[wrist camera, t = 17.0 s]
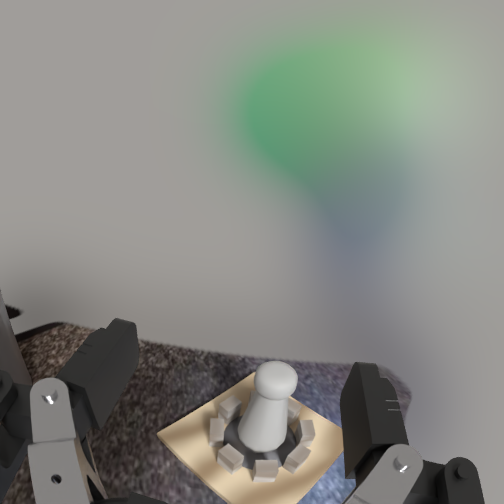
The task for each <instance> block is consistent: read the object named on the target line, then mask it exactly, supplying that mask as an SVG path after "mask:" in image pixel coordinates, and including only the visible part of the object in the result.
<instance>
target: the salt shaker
mask: <svg viewBox="0 0 504 504" xmlns="http://www.w3.org/2000/svg"><path fill="white" fill-rule="evenodd" d="M297 379H298V376H297V374H296V372H295V370H294V369H293V368H292V367H291V366H290V365H288V364H286V363H284V362H281V361H270V362H266V363H263V364H262V365H260V366H259V367H258V368H257V370H256V373H255V376H254V381H253V382H254V386H255V390H256V391H255V393H254V395H253V397H252V399H251V401H250V403H249V405H248V407H247V409H246V411H245V413H244V415H243V417H242V419H241V420H240V423H239V426H238V434H239V439H240V441H241V442H242V443H243V445H244V446H246V447H247V448H248V449H250V450H251V451H252V452H254V453H255V454H256V453H265V452H271V451H273V450H275V449H277V448H278V447H279V446H280V445H281V444H282V443H283V442H284V440H285V437H286V433H287V417H288V397H289V396H290V395H291V394H292V393H293V392H294V391H295V388H296V385H297Z"/></svg>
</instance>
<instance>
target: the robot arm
mask: <svg viewBox="0 0 504 504" xmlns="http://www.w3.org/2000/svg"><path fill="white" fill-rule="evenodd" d="M138 362H139V347H138V338H137V329H136V325H135V323H133V322H129V321H125V320H122V319H118V318H115V319H114V320H113V321H112V322H111V323H110V324H109V326H108V327H107V328H106V329H104V328H100V329H98V330H96V331H95V332H93V333H91V334H90V335H89V336H88V337H87V338H86V340H85V341H84V342H83V345H81V346H80V347H79V348H78V349H77V352H75V353H74V354H73V356H72V357H71V358H70V359H69V361H68V362H67V363H66V364H65V366H64V367H63V368H62V369H61V371H60V372H59V373H58V374H57V376H56V377H55V378H45V379H42V380H40V381H38V382H37V383H35V384H34V385H33V386H32V380H31V377H30V374H29V372H28V370H27V367H26V365H25V362H24V360H23V357H22V354H21V352H20V349H19V346H18V344H17V341H16V338H15V335H14V332H13V330H12V327H11V324H10V321H9V317H8V314H7V311H6V308H5V304H4V301H3V298H2V294H1V290H0V422H1V425H0V504H1V503H2V501H3V499H4V497H5V495H6V493H7V491H8V489H9V487H10V485H11V483H12V481H13V479H14V477H15V475H16V473H17V471H18V469H19V467H20V466H21V464H22V462H23V460H24V458H25V456H26V455H27V453H28V457H29V465H30V472H31V479H32V485H33V490H34V495H35V500H36V504H168V503H166V502H163V501H159V500H156V499H153V498H150V497H146V496H143V495H140V494H137V493H134V492H131V494H130V497H129V498H108V497H107V494H106V492H105V489H104V487H103V485H102V483H101V480H100V478H99V475H98V472H97V468H96V465H95V461H94V458H93V454H92V451H91V447H90V443H89V439H88V435H87V432H88V431H89V429H90V427H93V428H95V429H98V430H100V431H101V430H102V428H103V426H104V424H105V422H106V421H107V419H108V417H109V415H110V413H111V412H112V410H113V408H114V406H115V405H116V403H117V401H118V399H119V397H120V396H121V394H122V392H123V390H124V389H125V387H126V385H127V383H128V382H129V380H130V378H131V377H132V375H133V373H134V371H135V370H136V368H137V365H138ZM397 400H398V399H397V395H396V392H395V388H394V387H393V386H392V384H391V383H390V382H389V380H388V379H387V378H380V375H379V371H378V367H377V365H376V364H374V363H363V362H355V363H354V365H353V367H352V369H351V372H350V374H349V376H348V379H347V381H346V383H345V386H344V388H343V390H342V393H341V398H340V411H341V423H342V435H343V448H344V464H345V479H356V487H355V488H354V489H353V490H352V491H351V493H350V494H349V495H348V496H347V497H346V499H345V500H344V501H343V502H342V503H341V504H485V503H484V498H483V493H482V489H481V484H480V480H479V476H478V472H477V469H476V467H475V465H474V464H473V463H472V462H471V461H470V460H468V459H466V458H462V457H457V458H453V459H451V460H450V461H449V462H448V463H447V464H446V465H443V464H437V463H433V462H429V461H425V460H423V459H422V457H421V455H420V453H419V452H418V451H417V450H416V449H414V448H413V447H411V446H409V443H408V439H407V435H406V430H405V426H404V422H403V418H402V414H401V411H400V406H399V403H398V402H397Z"/></svg>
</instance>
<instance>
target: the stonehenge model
mask: <svg viewBox="0 0 504 504" xmlns="http://www.w3.org/2000/svg"><path fill="white" fill-rule="evenodd" d="M254 376H255V372H254V373H252V374H251V375H249V376H248V377H246V378H245V379H243V380H242V381H240V382H239V383H237V384H236V385H234V386H233V387H231V388H230V389H228V390H227V391H225V392H224V393H222V394H221V395H219V396H217V397H216V398H214V399H213V400H211V401H210V402H208V403H206V404H205V405H203V406H202V407H200V408H198V409H197V410H195V411H194V412H192V413H190V414H189V415H187V416H185V417H184V418H182V419H180V420H179V421H177V422H175V423H174V424H172V425H170V426H168V427H167V428H165V429H163V430H161V431H160V432H158V433H157V436H158V438H159V439H160V440H161V441H162V442H163V443H164V444H165V445H166V446H167V447H168V448H169V449H170V450H171V451H172V452H173V453H174V455H175V456H176V457H177V458H178V459H179V460H181V461H182V462H183V463H184V464H185V465H186V466H187V467H188V468H189V469H190V470H191V471H192V472H193V473H194V474H195V475H196V476H197V477H198V478H199V479H200V480H202V481H203V482H204V483H205V484H206V485H207V486H208V487H209V488H211V489H212V490H213V491H214V492H215V493H216V494H217V495H219V496H220V497H221V498H222V499H223V500H225V501H226V502H227V503H228V504H297V503H298V502H299V501H300V499H301V498H302V497H303V496H304V495H305V494H306V493H307V492H308V491H309V490H310V489H311V488H312V487H313V486H314V484H315V483H316V482H317V481H318V480H319V479H320V478H321V477H322V476H323V474H324V473H325V472H326V471H327V470H328V469H329V467H330V466H331V465H332V464H333V463H334V461H335V460H336V459H337V458H338V457H339V455H340V454H341V453H342V452H343V450H344V448H343V435H342V428H340V427H338V426H337V425H335V424H333V423H332V422H330V421H328V420H327V419H325V418H324V417H322V416H320V415H319V414H317V413H315V412H314V411H312V410H311V409H309V408H308V407H306V406H304V405H303V404H301V403H300V402H298V401H297V400H295V399H294V398H292V397H290V396H289V397H288V417H287V433H286V437H285V440H284V442H283V443H282V444H281V445H280V446H279V447H278V448H277V449H275V450H273V451H271V452H265V453H256V454H255V453H254V452H252V451H251V450H250V449H248V448H247V447H246V446H244V445H243V443H242V442H241V441H240V439H239V434H238V426H239V423H240V420H241V419H242V417H243V415H244V413H245V411H246V409H247V407H248V405H249V403H250V401H251V399H252V397H253V395H254V393H255V391H256V390H255V386H254V382H253V381H254Z"/></svg>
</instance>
